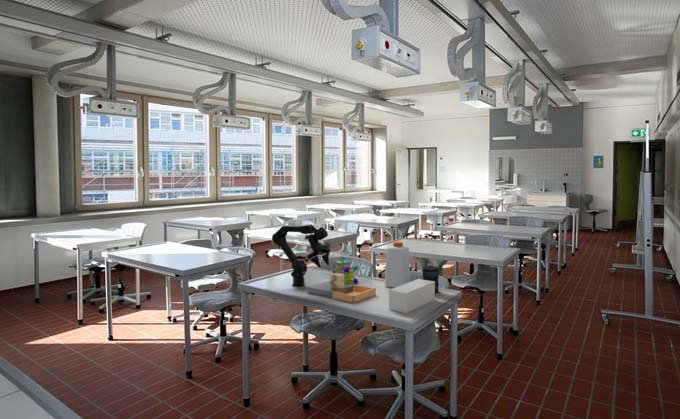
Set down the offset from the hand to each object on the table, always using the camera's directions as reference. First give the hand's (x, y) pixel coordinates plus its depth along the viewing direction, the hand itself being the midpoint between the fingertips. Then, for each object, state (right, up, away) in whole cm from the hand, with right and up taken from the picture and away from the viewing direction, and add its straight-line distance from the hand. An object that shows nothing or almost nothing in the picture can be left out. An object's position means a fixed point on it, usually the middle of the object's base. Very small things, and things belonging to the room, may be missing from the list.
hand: (324, 266), depth 289 cm
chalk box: (+11, -12, +32) cm, 36 cm away
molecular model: (+16, -13, +15) cm, 26 cm away
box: (+18, -16, -16) cm, 29 cm away
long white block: (+50, -17, -32) cm, 62 cm away
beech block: (+8, -12, -8) cm, 17 cm away
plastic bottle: (+47, -14, +11) cm, 50 cm away
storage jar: (+65, -15, -5) cm, 67 cm away
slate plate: (+4, -15, -5) cm, 16 cm away
